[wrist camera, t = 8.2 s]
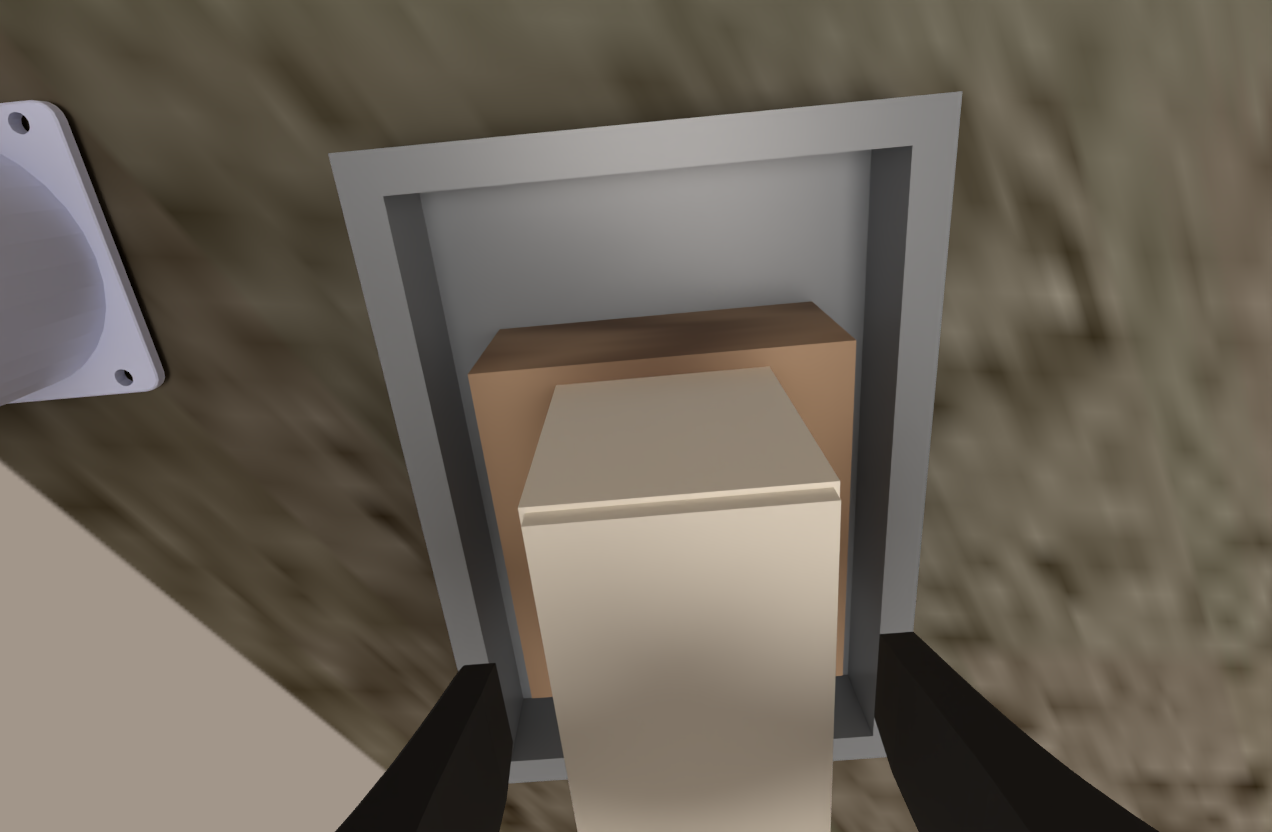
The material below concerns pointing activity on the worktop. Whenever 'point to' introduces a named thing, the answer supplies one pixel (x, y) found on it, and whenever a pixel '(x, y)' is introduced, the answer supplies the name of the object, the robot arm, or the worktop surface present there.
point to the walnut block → (648, 347)
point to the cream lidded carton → (687, 602)
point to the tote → (657, 285)
